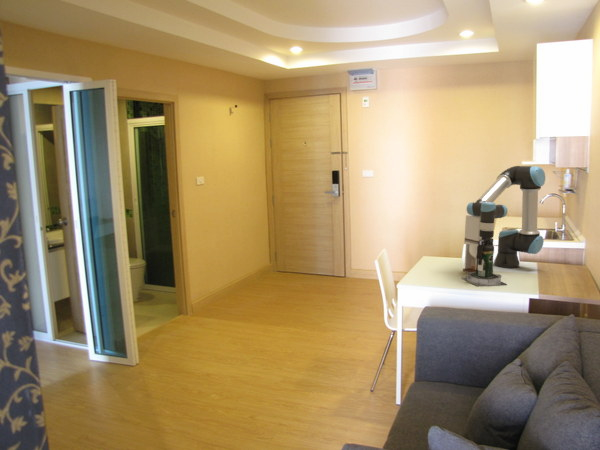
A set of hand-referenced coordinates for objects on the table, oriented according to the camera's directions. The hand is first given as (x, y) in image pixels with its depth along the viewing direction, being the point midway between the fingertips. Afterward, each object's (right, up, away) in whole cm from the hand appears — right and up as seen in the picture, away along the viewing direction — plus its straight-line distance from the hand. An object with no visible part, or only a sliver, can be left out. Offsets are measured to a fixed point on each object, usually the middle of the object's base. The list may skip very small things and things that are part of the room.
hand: (484, 269), depth 285 cm
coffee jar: (0, -4, +1) cm, 4 cm away
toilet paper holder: (+3, -5, +21) cm, 21 cm away
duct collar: (0, -7, +1) cm, 7 cm away
